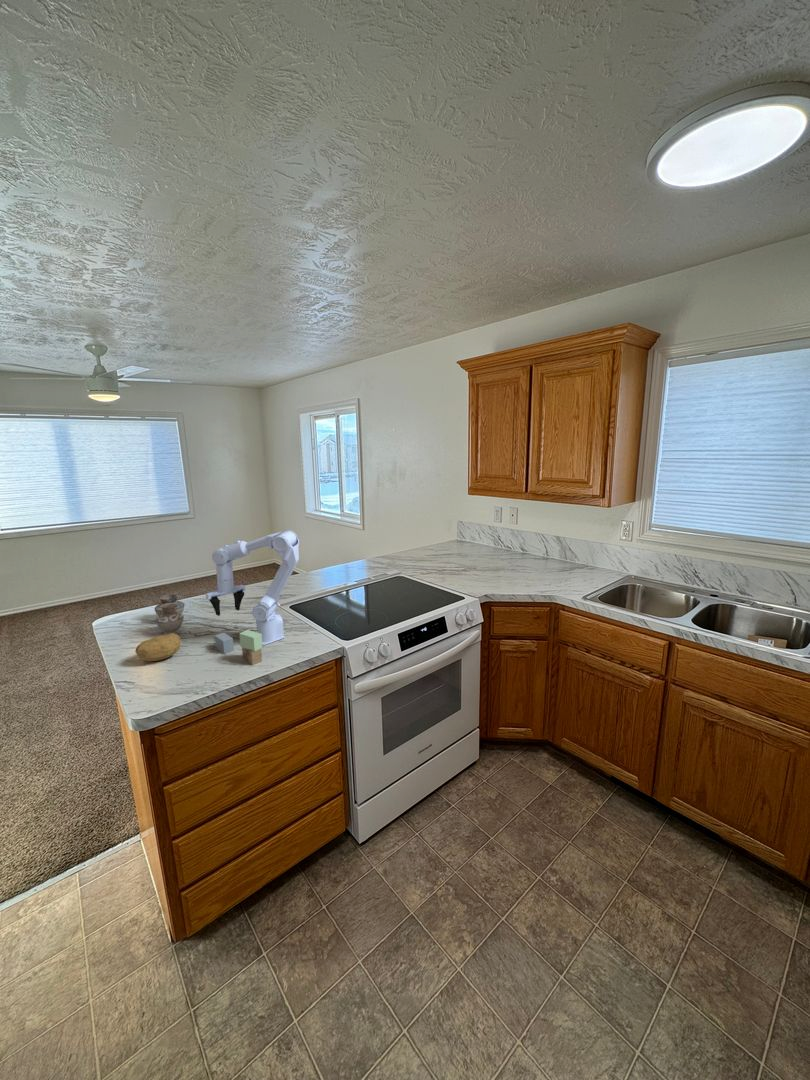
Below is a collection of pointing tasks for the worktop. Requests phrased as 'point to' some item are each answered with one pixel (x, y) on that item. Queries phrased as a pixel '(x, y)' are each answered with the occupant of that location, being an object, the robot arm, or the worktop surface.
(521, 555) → the worktop surface
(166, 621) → the pottery
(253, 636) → the green brick
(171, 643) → the potato
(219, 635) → the slate brick
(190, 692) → the worktop surface
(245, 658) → the walnut brick
